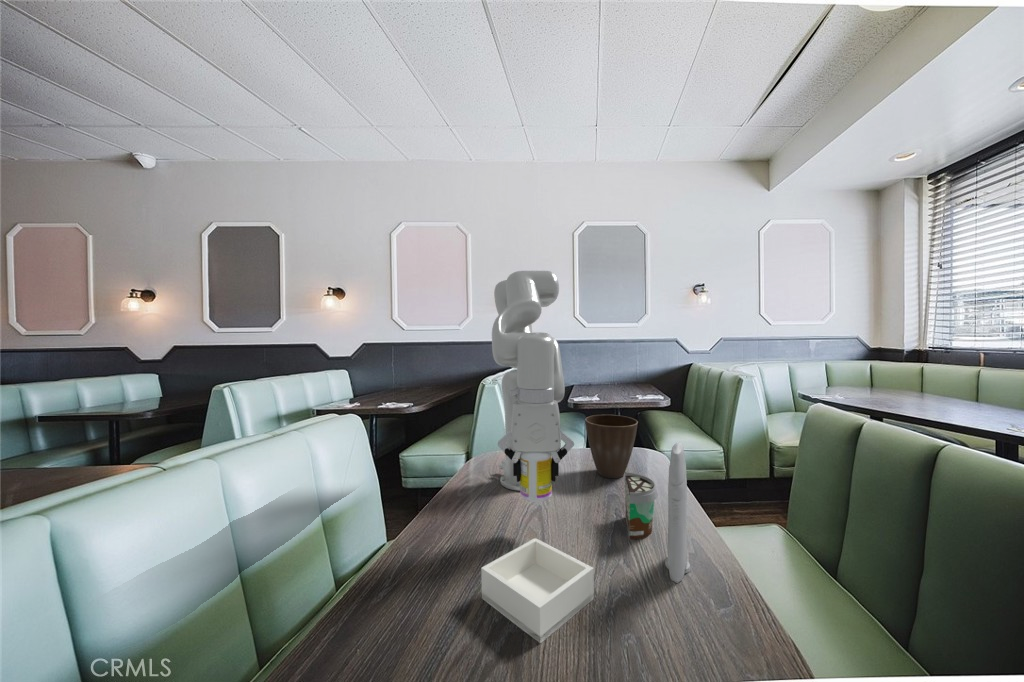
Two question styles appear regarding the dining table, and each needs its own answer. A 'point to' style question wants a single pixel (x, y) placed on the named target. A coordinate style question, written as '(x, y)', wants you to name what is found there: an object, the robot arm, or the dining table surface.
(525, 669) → the dining table surface
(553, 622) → the box
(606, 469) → the plant pot
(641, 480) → the food container
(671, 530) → the tall pale column
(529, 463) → the supplement bottle
